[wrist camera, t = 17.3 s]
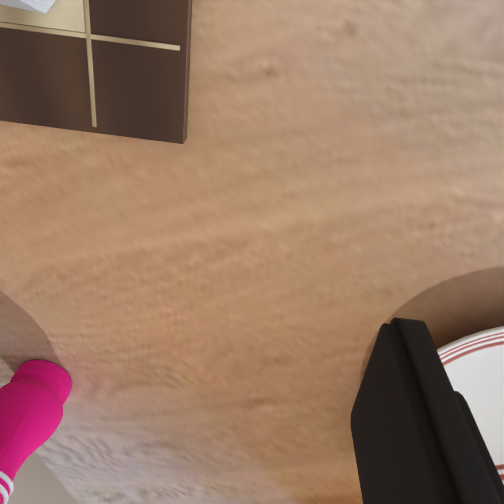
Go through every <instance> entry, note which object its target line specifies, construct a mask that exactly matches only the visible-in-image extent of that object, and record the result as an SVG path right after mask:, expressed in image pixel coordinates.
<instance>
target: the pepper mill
mask: <svg viewBox="0 0 504 504" xmlns="http://www.w3.org/2000/svg"><path fill="white" fill-rule="evenodd" d="M71 389H72V381H71V378H70V377H69V375H68V374H67V372H66V371H65V370H63V369H62V368H61V367H60V366H58V365H56V364H54V363H51V362H48V361H44V360H31V361H27V362H25V363H23V364H22V365H20V366H19V368H18V369H17V371H16V372H15V374H14V375H13V377H12V378H11V381H10V383H8V384H6V385H4V386H3V387H1V388H0V504H6V503H7V502H8V499H9V496H10V495H11V493H12V492H13V489H14V486H13V479H14V477H15V474H16V472H17V471H18V470H19V468H20V466H21V465H22V464H23V462H24V461H25V460H26V459H27V457H29V456H30V455H31V454H32V453H33V452H34V451H35V450H36V449H37V448H38V447H39V446H41V445H42V444H43V443H44V442H45V441H46V440H48V438H49V437H50V436H51V435H52V434H53V433H54V431H55V430H56V428H57V427H58V425H59V423H60V422H61V419H62V416H63V407H62V405H63V404H64V403H65V401H66V399H67V397H68V395H69V393H70V391H71Z"/></svg>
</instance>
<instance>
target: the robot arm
mask: <svg viewBox="0 0 504 504" xmlns="http://www.w3.org/2000/svg"><path fill="white" fill-rule="evenodd" d="M351 431H352V437H353V443H354V450H355V456H356V462H357V468H358V474H359V480H360V487H361V493H362V499H363V504H504V484H503V482H502V480H501V478H500V475H499V473H498V471H497V469H496V466H495V464H494V462H493V460H492V457H491V455H490V453H489V451H488V448H487V446H486V444H485V442H484V439H483V437H482V435H481V433H480V430H479V428H478V426H477V424H476V421H475V419H474V417H473V415H472V412H471V410H470V408H469V406H468V403H467V401H466V400H465V398H464V396H463V395H462V394H461V393H459V392H458V391H454V389H453V387H452V385H451V382H450V380H449V378H448V375H447V373H446V371H445V368H444V366H443V364H442V361H441V359H440V357H439V354H438V352H437V350H436V347H435V345H434V343H433V340H432V338H431V335H430V333H429V331H428V328H427V326H426V324H425V323H424V322H423V321H420V320H412V319H404V318H393V319H392V320H391V322H390V324H386V323H384V324H382V326H381V328H380V331H379V333H378V336H377V339H376V342H375V345H374V348H373V351H372V354H371V357H370V359H369V362H368V365H367V368H366V371H365V374H364V377H363V380H362V383H361V385H360V388H359V391H358V394H357V397H356V400H355V403H354V406H353V409H352V412H351Z"/></svg>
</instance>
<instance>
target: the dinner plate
mask: <svg viewBox="0 0 504 504" xmlns="http://www.w3.org/2000/svg"><path fill="white" fill-rule="evenodd" d="M437 352H438V354H439V357H440V359H441V361H442V364H443V366H444V368H445V371H446V373H447V375H448V378H449V380H450V382H451V385H452V387H453V389H454V391H458V392H459V393H461V394H462V395H463V396H464V398H465V400H466V401H467V403H468V406H469V408H470V410H471V412H472V415H473V417H474V419H475V421H476V424H477V426H478V428H479V430H480V433H481V435H482V437H483V439H484V442H485V444H486V446H487V448H488V451H489V453H490V455H491V457H492V460H493V462H494V464H495V466H496V469H497V471H498V473H499V475H500V478H501V480H502V482H503V484H504V326H500V327H496V328H492V329H488V330H484V331H481V332H477V333H474V334H471V335H468V336H465V337H463V338H460V339H458V340H455V341H453V342H451V343H449V344H447V345H444V346H443V347H441V348H439V349H437Z"/></svg>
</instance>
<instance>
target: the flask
mask: <svg viewBox="0 0 504 504" xmlns="http://www.w3.org/2000/svg"><path fill="white" fill-rule="evenodd" d="M55 1H56V0H0V4H2V5H5V6H10V7H15V8H20V9H24V10H29V11H34V12H39V13H44V14H46V13H47V12H48V10H49V9H50V8H51V6H52V5H53V3H54V2H55Z"/></svg>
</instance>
